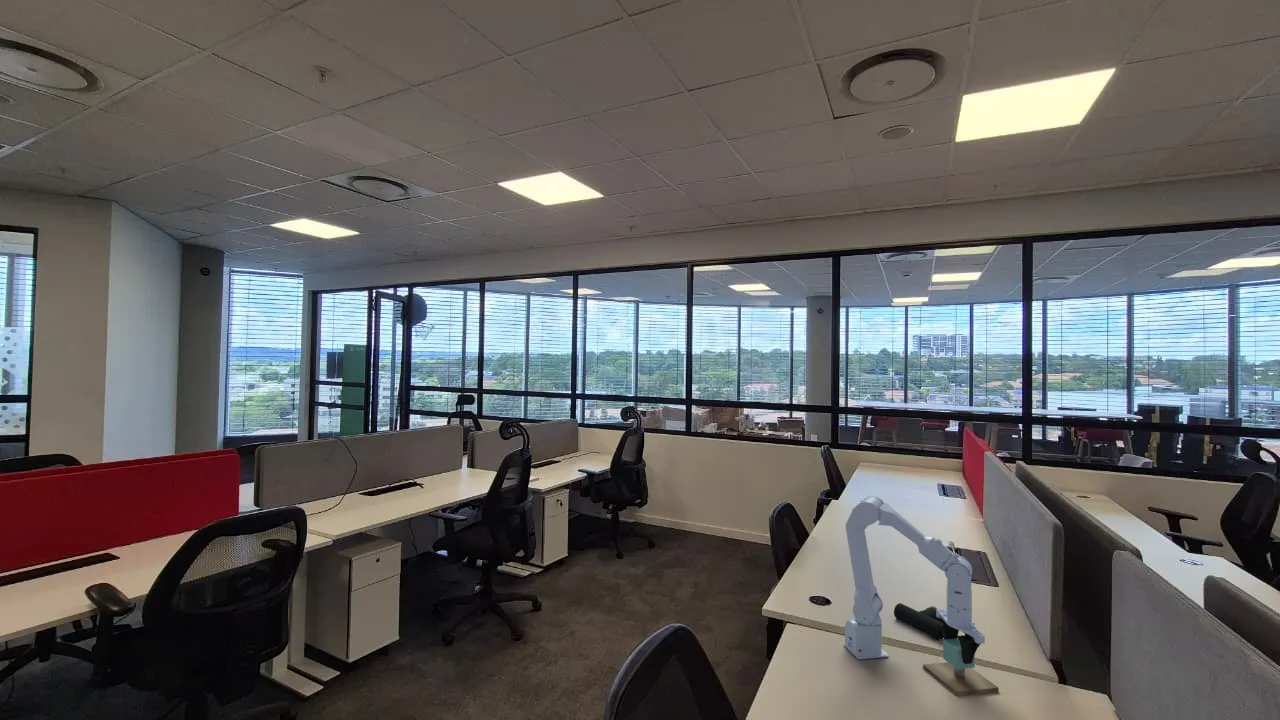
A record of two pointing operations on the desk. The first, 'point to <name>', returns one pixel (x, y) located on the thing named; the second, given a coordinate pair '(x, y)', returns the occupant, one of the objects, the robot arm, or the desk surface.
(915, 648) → the desk surface
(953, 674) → the base plate
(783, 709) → the desk surface
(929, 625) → the pipe connector
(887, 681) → the desk surface
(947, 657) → the teal cube
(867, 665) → the desk surface
